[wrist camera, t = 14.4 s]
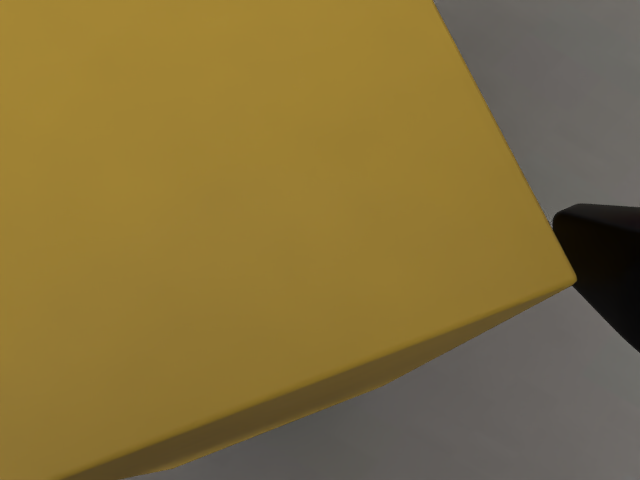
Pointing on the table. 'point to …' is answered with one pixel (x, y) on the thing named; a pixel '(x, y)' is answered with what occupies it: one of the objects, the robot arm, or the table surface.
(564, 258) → the yellow rectangular block
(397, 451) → the table surface
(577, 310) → the table surface
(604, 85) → the table surface
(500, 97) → the table surface
